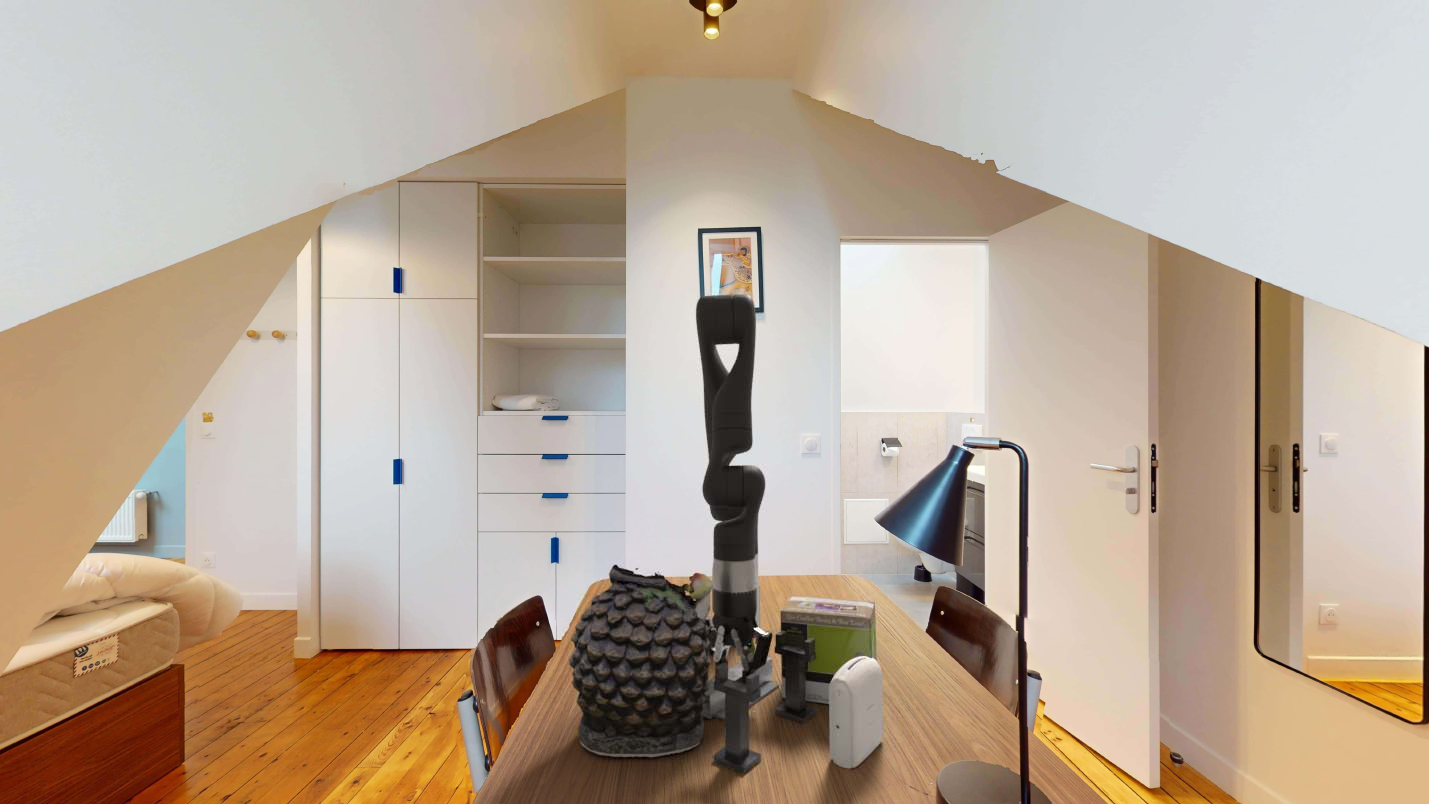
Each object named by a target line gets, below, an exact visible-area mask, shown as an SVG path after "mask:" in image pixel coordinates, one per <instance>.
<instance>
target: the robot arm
mask: <svg viewBox="0 0 1429 804" xmlns="http://www.w3.org/2000/svg"><path fill="white" fill-rule="evenodd" d="M756 315H757V314H756V307H755V302H754V299H753V298H752V296H751V295H749V294H745V293H743V294H741V293H738V294H737V293H736V294H734V293H733V294H717V295H716V294H714V295H704V296H700V297H699V299H697V302H696V306H695V320H696V321H695V323H696V332H697V339H698V348H699V353H700V354H699V356H700V361H701V362H700V363H701V371H702V380H703V382H702V383H703V410H704V413H703V414H704V424H705V425H704V426H705V434H706V443H707V451H708V453H707V455H708V464H707V468H706V471H705V474H704V477H703V482H702V491H701V492H702V495H703V496H702V497H703V498H704V500H705V502H706V503H707V505H708V506H709V511H710V515H711V517H712V518H713V519H714V520H715V521H718V523H716V524H715V525H714V527H713V560H712V561H713V562H712V570H711V581H712V582H713V587H712V589H711V593H712V595H711V605H712V606H711V609H712V613H713V616H707V619H706V621H705V622H706V625H707V626H708V627H709V629H710V630H709V633H708V635H707V636H706V637H707V638H708V640H709V641H710V646H709V650H708V653H709V657H711V658H712V659H713V661H714V664H715V665H714V666H715V667H717V666H719V665H720V664H722V663H725V664H728V665H729V659H727V657H728V655H729V651H730V647H733V648H734V649H736V653H737V656H738V658H740V662H742V666H743V669H744V670H742V683H743V684H746V677H748V676H749V675H751V674H752V673H754V672H755V670H757V669H759V668H761V667H762V666H764V665H765V664H766V661H767V657H769V653H770V649H771V645H772V640H773V635H774V634H773V632H772V631H770V630H767V631H766V632H765V631H764V630H762V629H761V586H760V585H759V538H758V537H759V533H758V531H759V528H758V527H759V511H760V509H761V505H762V501H763V498H764V496H765V490H766V477H765V476H764V473H763V471H762V470H761V469H760V468H759V467H758V466H756V465H751V464H750V465H747V464H746V465H743V464H742V465H740V464H739V465H731V463H732V461H734V458H735V457H736V455H739V454H744V453H747V452H748V451H750V450H751V449H752V447H753V443H754V441H753V420H752V419H753V416H752V415H753V414H752V394H753V393H752V391H753V382H754V381H753V380H754V371H755V369H754V368H755V355H756V354H755V353H756V338H757V337H756V336H757V335H756V334H757V332H756V331H757V318H756V317H757V316H756ZM734 344H735V345H738V351H737V355H736V359H735V362H734V363H733V366H732V368H731V369H730V370H727V368H726V367H725V365H724V362H723V361H722V359H721V356H720V355H719V351H718V349H717V346H718V345H719V346H720V345H734ZM716 633H717V634H716ZM753 638H755V641H754V639H753ZM755 644H756V645H755ZM744 647H745V648H744ZM715 667H714V668H715Z"/></svg>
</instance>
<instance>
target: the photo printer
mask: <svg viewBox="0 0 1429 804" xmlns="http://www.w3.org/2000/svg"><path fill="white" fill-rule="evenodd" d="M883 697H884V695H883V670H882V668H881V665H880V664H879V662H878V660H877V661H876V660H875V659H873V658H869V657H866V656H860V657H856V658H854V659H852V660H850V661H848V662H847V663H845V664H844V665H843V666H842V667H841V668H840V669H839V670H838V671H837V673H836V674H835V675H834V677H833V678H832V680H831V683H830V686H829V704H828V705H829V706H828V712H829V718H828V719H829V757H830V759H831V760H832V761H833V763H834V764H835V765H837V766H838V767H840V768H843V769H844V768H845V769H852V768H853V769H855V768H856V767H858V766H859V765H861V763H862V762H863V761H865V760H866V759H867V758H868V757H869V755H871V754H872V753H873V752H874V751H875V750H876V749H877V748H878V746H879V745H880V744H881V743H882V740H883V737H884V711H883V710H884V709H883V708H884V707H883V706H884V704H883V702H884V701H883V700H884V699H883Z"/></svg>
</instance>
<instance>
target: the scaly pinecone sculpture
mask: <svg viewBox="0 0 1429 804" xmlns="http://www.w3.org/2000/svg"><path fill="white" fill-rule="evenodd" d="M634 570H636V571H638V570H639V567H636V568H635V569H634ZM608 578H609V581H610V583H611V586H610V587H609V588H608V589H605V590H604V591H602V592H601V593H600V594H597V595H595V596H593V598H592V599H591V604H590V606H589V607H587V608H586V609H584V611H583V613H582V614H581V617H580V622H578V623H577V624H576V625H575V627H574V628H575V632H574V633H573V635H572V637H571V639H570V640H571V641H572V642H573V644H574V645H573V646H574V648H575V649H574V651H573V653H572V654H571V656H570V658H569V659H568V662H569V663H568V664H569V666H570V667H571V668H572V669H573V671H572V674H571V675H572V682H571V684H572V686H573V688H574V689H575V690H576V691H577V692H578V696H577V699H576V703H577V706H579V708H580V710H581V712H582V716H581V719H580V722H579V724H578V727H577V733H578V737H579V742H580V744H581V746H582V747H584V748H585V749H586V750H587V751H589V752H591V753H595V754H596V755H599V756H606V757H608V756H609V757H613V758H614V757H616V758H617V757H618V758H619V757H623V758H627V757H629V758H630V757H632V758H634V757H639V758H642V757H647V758H653V757H654V758H655V757H656V758H657V757H662V756H667V755H668V756H669V755H670V754H673V755H674V754H675V753H676V754H679V753H683V752H685V751H688V750H691V749H692V748H695V747H697V746H698V745H700V743H701V742H702V738H703V736H704V731H705V727H704V717H703V716H702V715H701V712H702V711H703V702H704V701H705V692H706V691H708V689H709V682H708V680H709V668H710V664H711V662H712V660H711V658H710V656H709V653H708V650H709V646H710V644H711V642H710V641H709V640H708V638H707V637H706V636H707V635H708V633H709V630H710V629H709V627H708V626H707V625H706V622H705V621H706V619H707V617H709V615H710V612H711V593H712V587H713V582H712V579H710V578H709V577H708V576H707V575H706V574H705V573H699V572H694V574H693V575H692V576H689V578H688V579H689V582H690V583H689V584H688V583H683V584H682V585H679V584H678V585H677V584H675V583H671V582H670V581H669V580H668V579H666V577H665V576H664V575H662V574H661V573H660V572H659V571H657V572H654V575H643V574H640V573H639V574H637V573H635V572H634V571H633V570H630V569H627V568H622V567H619V566H618V564H613V566H612V567H611V569H610V571H609V573H608ZM686 593H688V594H689V595H688V594H686Z"/></svg>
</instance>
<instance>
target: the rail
mask: <svg viewBox="0 0 1429 804" xmlns="http://www.w3.org/2000/svg"><path fill="white" fill-rule="evenodd" d="M742 670H744V669H743V666H742V662H741V661H740V662H738V663H736V664H735V665H734V666H733V665H732V666H731V667H730V668H729V667H728V679H730V680H733V681H736V682H739V683H742ZM755 673H758V674H759V687H760V686H761V685H763V684H764V683H766V682H767V681H769V682H770V681H771V680H772V679H773V658H772V657H769V656H768V657H767V661H766V664H765V665H764V666H762V667H761V668H759V669H757V670H755ZM708 682H709V689H708V691H706V692H705V701H704V702H703V711H702V712H701V715H702V716H703V718H706V719H709V720H710V719H712V718H715V717H714V716H715V715H717V714H718V713H720V712H721V711H723V710H724V709H725V693H723V692H720V691H717V690H714V682H715V676H713V677H712V678H710V679H708Z"/></svg>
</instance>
